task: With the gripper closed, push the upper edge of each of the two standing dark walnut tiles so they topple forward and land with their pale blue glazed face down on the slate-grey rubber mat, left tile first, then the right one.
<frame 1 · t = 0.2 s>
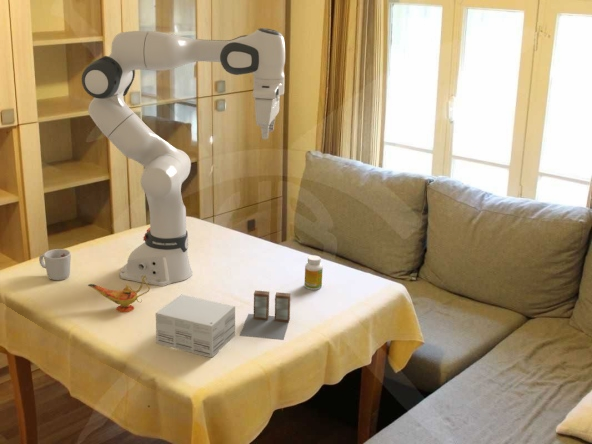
hand: (267, 134, 219), 47 cm above the table, tool pointing down, fingers open, 8 cm apart
right walnut tile: (282, 320, 211), resting on slate rubber mat
supplement box: (196, 341, 200), on the table
left walnut tile: (261, 318, 212), resting on slate rubber mat
cup: (55, 277, 235), on the table
magic lamp: (119, 308, 216), on the table
supplement bottle: (312, 287, 234), on the table
slate rubber mat: (265, 327, 208), on the table
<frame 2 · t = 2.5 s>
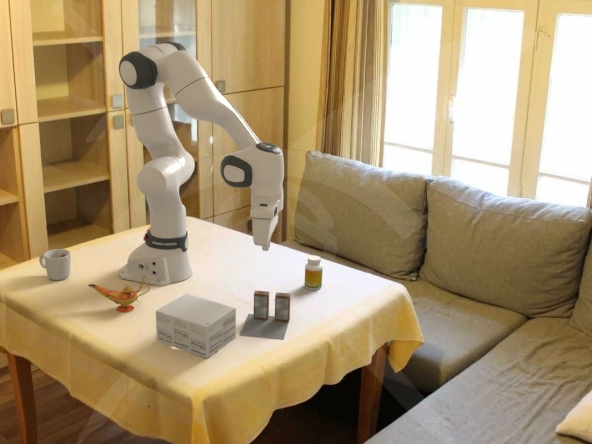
hand: (266, 249, 211), 19 cm above the table, tool pointing down, fingers closed
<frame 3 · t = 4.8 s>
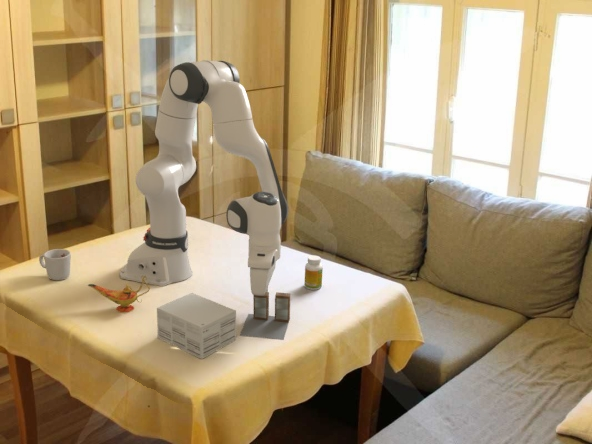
hand: (263, 296, 212), 6 cm above the table, tool pointing down, fingers closed
left walnut tile: (261, 318, 212), resting on slate rubber mat, tilted 5°
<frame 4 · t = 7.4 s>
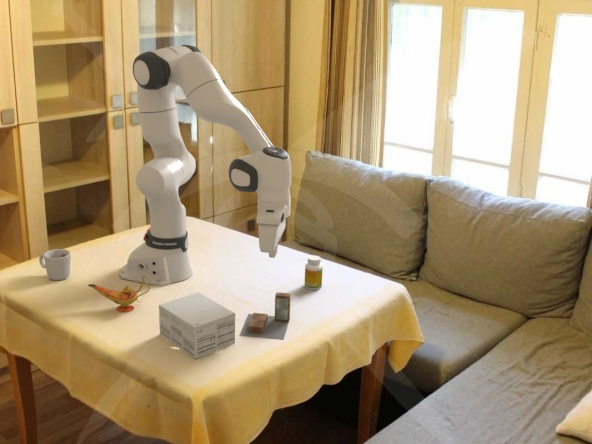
hand: (272, 255, 207), 19 cm above the table, tool pointing down, fingers closed
left walnut tile: (260, 316, 211), point 1 cm above the table, tilted 90°, touching slate rubber mat
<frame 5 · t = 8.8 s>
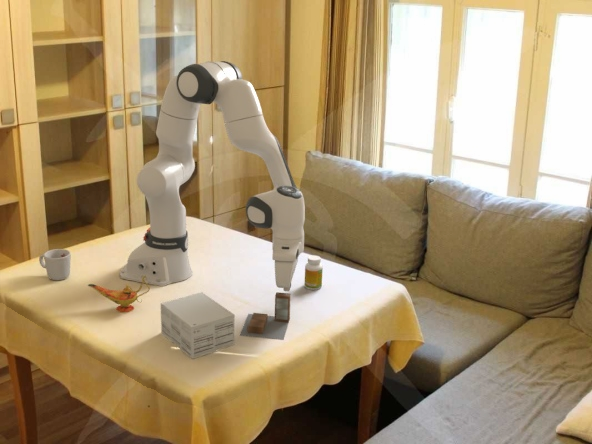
hand: (287, 289, 215), 7 cm above the table, tool pointing down, fingers closed
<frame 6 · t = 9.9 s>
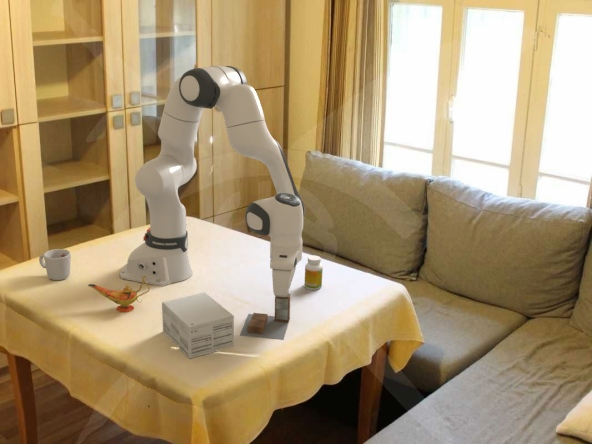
hand: (284, 297, 212), 6 cm above the table, tool pointing down, fingers closed
right walnut tile: (282, 320, 211), resting on slate rubber mat, touching gripper
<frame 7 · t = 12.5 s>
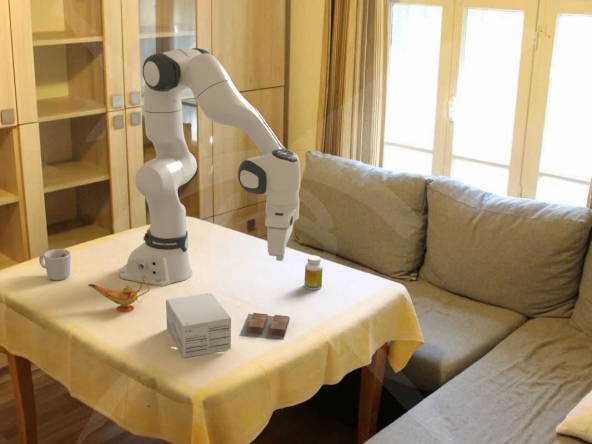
hand: (280, 258, 205), 19 cm above the table, tool pointing down, fingers closed
right walnut tile: (281, 318, 210), point 1 cm above the table, tilted 90°, touching slate rubber mat
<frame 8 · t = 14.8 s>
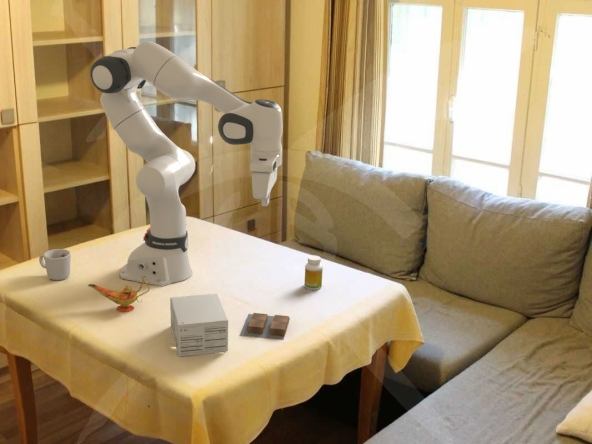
hand: (265, 204, 216), 29 cm above the table, tool pointing down, fingers closed
at the end: left walnut tile tilted 90°; right walnut tile tilted 90°; left walnut tile inside the target area (2.4 cm from its centre), point 1.4 cm above the table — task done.
